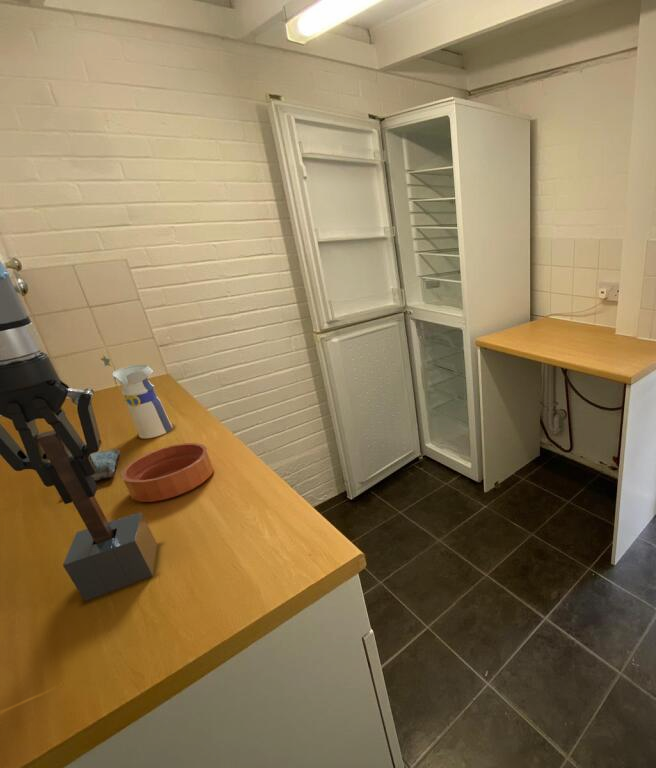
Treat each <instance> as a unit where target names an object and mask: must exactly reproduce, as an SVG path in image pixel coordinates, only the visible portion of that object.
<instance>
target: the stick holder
mask: <svg viewBox="0 0 656 768" xmlns="http://www.w3.org/2000/svg"><path fill="white" fill-rule="evenodd" d="M108 523H109V525H110V527H111V529H112V531H113V532H114V534H115V538H113V539H110V540H107V541H104V542H101V543H98V544H96V543H95V541H94V540H93V538H92V536H91V534H90V532H89V531H88V529H87V528H85V529H82V530H78V531H76V532H75V534H74V537H73V539H72V542H71V543H70V544H71V545H70V546H69V549H68V552H67V553H66V556H65V559H64V561H63V563H62V567H63V569H64V570H65V572H66V573H67V575H68V576H69V578H70V579H71V581H72V583H73V584H74V586H75V588H76V589H77V591H78V592H79V594H80V596H81V597H82V599H83V600H84V602H87V601H90V600H93V599H96V598H98V597H100V596H104V595H105V594H108V593H111V592H113V591H117V590H119V589H123V588H125V587H127V586H130V585H132V584H135V583H138V582H141V581H142V580H146V579H148V578H151V577H153V575H154V569H155V563H156V557H157V551H158V543H157V541H156V539H155V537H154V535H153V533H152V531H151V528H150V527H149V524H148V523H147V520H146V519H145V516H144V514H143V512H142V511H140V512H137V513H132V514H130V515H127V516H124V517H120V518H117V519H114V520H111V521H108Z"/></svg>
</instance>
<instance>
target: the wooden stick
mask: <svg viewBox="0 0 656 768" xmlns="http://www.w3.org/2000/svg"><path fill="white" fill-rule="evenodd" d="M39 434H40V435H39V437H38V438H37V439H38V441H39V443H40V445H41V446H42V448H43V450H44V452H45V453H46V455H47V457H48V459H49V460H48V461H49V463H50V462H51V464H52V466H53V468H54V470H55V471H56V473H57V475H58V477H59V479H60V480H61V482H62V484H63V486H64V488H65V489H66V491H67V493H68V495H69V497H70V498H71V500H72V504H73V506H74V507H75V509H76V511H77V513H78V515H79V516H80V518H81V520H82V522H83V523H84V525H85V527H86V529H88V531H89V532H90V534H91V536H92V538H93V540H94V541H95V543H96V544H98V543H101V542H104V541H107V540H110V539H113V538H115V534H114V532H113V531H112V529H111V527H110V525H109V523H108V522H109V521H108V519H107V517H106V515H105V514H104V511H103V510H102V508H101V506H100V504H99V502H98V500H97V498H96V495H95V496H93V497H89V498H88V497H87V495H86V493H85V491H84V489H83V487H82V485H81V484H80V482H79V480H78V478H77V476H76V474H75V472H74V471H73V469H72V467H71V465H70V463H71V461H72V459H73V456H72V454H71V453H70V451H69V450H68V449H67V447H66V446H65V444H64V443H63V442H62V440H61V439H60V437H59V436H58V435H57V433H56V432H55V430H54V429H53V430H49V431H44V432H40V433H39Z"/></svg>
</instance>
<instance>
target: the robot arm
mask: <svg viewBox="0 0 656 768" xmlns="http://www.w3.org/2000/svg"><path fill="white" fill-rule="evenodd" d="M12 281H13V280H12V279H11V277H10V273H9V271H8V269H6V267H5V266H4V264H3V262H2V261H1V260H0V416H1V417H3V418H6V419H9V420H11V422H12V425H13V427H14V429H15V431H17V432H18V435H19V437H20V441H21V443H22V445H23V447H24V450H25V451H24V450H23V448H22V447H21V446H20V444H19V443H18V442H17V441H16V440H15V439H14V438H13V437H12V436H11V434H10V433H9V432H8V430H6V428H5V427H4V426H3V425H2V424H1V423H0V456H1V457H2V459H4V461H5V462H6V463H7V464H8V465H9V466H10V467H11V468H12V469H13V471H16V472H22V471H23V470H33V471H35V472H36V473H37V475H38V477H39V479H40V480H41V482H42V484H43V485H44V486H45V487H47V488H49V487H52V486H54V487H55V490H56V492H57V493H58V495H59V496H60V498H61V500H62V502H63V503H64V505H68V504H73V502H72V500H71V498H70V497H69V495H68V493H67V491H66V489H65V488H64V486H63V484H62V482H61V480H60V479H59V477H58V475H57V473H56V471H55V470H54V468H53V466H52V464H51V462H50V461H49V459H48V457H47V455H46V453H45V452H44V450H43V448H42V446H41V445H40V443H39V441H38V439H37V438H38V437H39V435H40V434H41V433H40V431H39V429H38V426H37V423H36V420H41V419H44V421H45V422H46V424H48V425H50V426H51V428H52V429H53V430H55V432H56V433H57V435H58V436H59V437H60V439H61V440H62V442H63V443H64V444H65V446H66V447H67V449H68V450H69V451H70V453H71V454H72V456H73V459H72V461H71V463H70V465H71V467H72V469H73V471H74V472H75V474H76V476H77V478H78V480H79V482H80V484H81V485H82V487H83V489H84V491H85V493H86V495H87V497H88V498H89V497H93V496H95V497H96V493H97V491H98V488H99V486H98V485H97V483H96V481H94V479H93V477H92V475H94V474H95V472H96V466H95V464H94V462H93V460H92V458H91V456H90V454H94V453H97V452H99V450H100V448H101V446H102V439H101V434H100V431H99V427H98V422H97V419H96V415H95V410H94V407H93V403H92V402H93V399H94V396H95V391H94V390H93V389H92V388H84V389H77V388H70V386H69V385H68V384H66V383H65V382H64V381H62V380H61V379H60V377H59V374H58V373H57V371H56V368H55V366H54V365H53V363H52V360H51V358H50V357H49V354H48V353H45V352H43V349H44V348H45V345H44V344H43V342H42V340H41V338H40V336H39V334H38V333H37V331H36V329H35V327H34V324H33V323H32V321H31V319H30V317H29V315H28V314H27V311H26V309H25V307H24V305H23V303H22V301H21V299H20V296H19V295H18V292H17V290H16V288H15V287H14V284H13V282H12ZM67 398H70V400H71V403H72V404H74V405H76V406H77V407H76V410H77V415H78V419H79V422H80V425H81V429H82V433H83V437H84V441H83V439H82V437H81V436H80V435H79V433H78V431H77V430H76V429H75V428H74V426H73V424H72V422H71V421H70V420H69V419H68V417H67V415H66V412H65V410H64V409H63V406H64V404H65V401H66V400H67Z"/></svg>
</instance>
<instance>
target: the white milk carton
mask: <svg viewBox="0 0 656 768" xmlns="http://www.w3.org/2000/svg"><path fill="white" fill-rule="evenodd" d="M100 360H101V361H102V362H103V363H104V367H107V366H109V367H112V364H111V360H112V358H109V357H107V356H106V355H105V354H103V357H100ZM153 373H154V370H153V369H152V368H151V367H150V366H149V365H147V364H133V365H132V364H131V365H128V366H123V367H121V368H119V369H116V370H114V371H113V372H112V373H111V374H112V377H113V380H114V383H115V385H116V386H118V382H119V384H120V385H121V388H122V390H121V395H122V396H124V402H125V404H126V405H127V410H128V412H129V415H130V417H131V419H132V422H133V424H134V426H135V430H136V432H137V435H138V438H140V439H151V438H157V437H160V436H163V435H165V434H167V433H169V432H170V431H172V429H173V425H172V423H171V421H170V419H169V417H168V414H167V412H166V410H165V408H164V405H163V404H162V401H161V400H160V398H159V397H158V396H157V394H156V392H155V389H154V388H155V384H152V383H151V382H150V380H149V377H150V376H151V375H152V374H153ZM117 381H118V382H117Z"/></svg>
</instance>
